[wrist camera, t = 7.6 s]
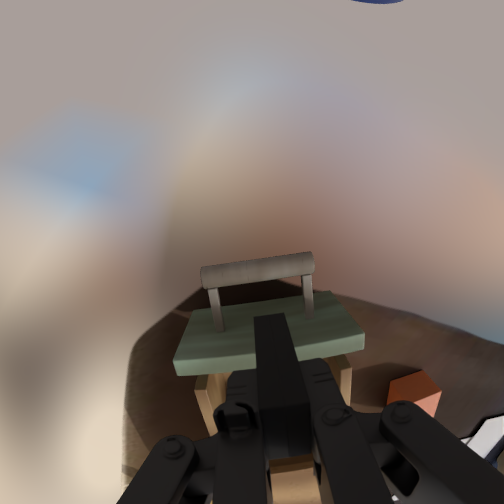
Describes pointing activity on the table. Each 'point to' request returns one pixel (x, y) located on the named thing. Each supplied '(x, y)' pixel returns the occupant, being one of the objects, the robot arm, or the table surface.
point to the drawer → (242, 331)
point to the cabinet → (295, 484)
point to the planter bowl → (501, 462)
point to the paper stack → (484, 438)
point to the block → (415, 391)
